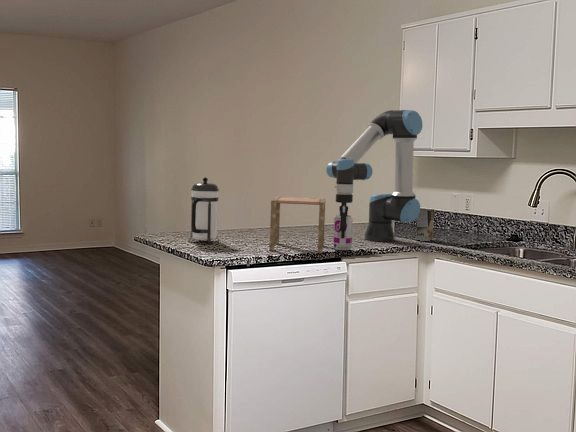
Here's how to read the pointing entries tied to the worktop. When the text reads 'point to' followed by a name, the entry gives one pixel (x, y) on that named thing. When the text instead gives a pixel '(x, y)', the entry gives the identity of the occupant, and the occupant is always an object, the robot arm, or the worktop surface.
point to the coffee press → (204, 211)
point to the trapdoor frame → (276, 223)
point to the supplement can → (337, 233)
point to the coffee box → (425, 225)
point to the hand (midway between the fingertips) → (342, 243)
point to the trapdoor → (299, 201)
